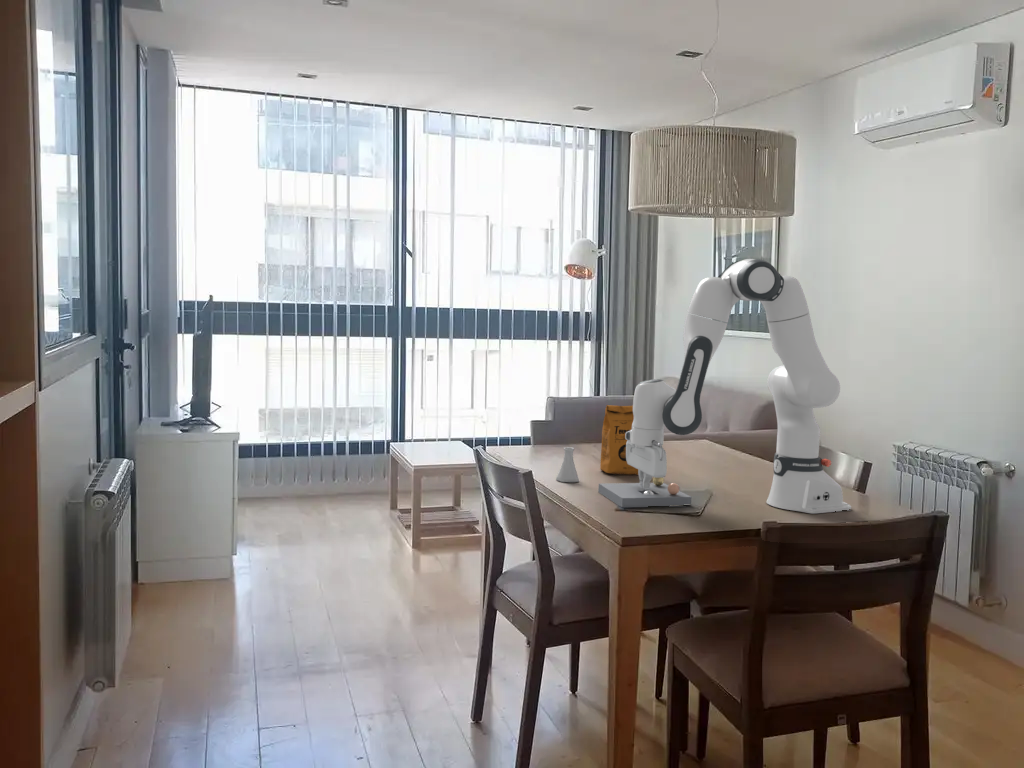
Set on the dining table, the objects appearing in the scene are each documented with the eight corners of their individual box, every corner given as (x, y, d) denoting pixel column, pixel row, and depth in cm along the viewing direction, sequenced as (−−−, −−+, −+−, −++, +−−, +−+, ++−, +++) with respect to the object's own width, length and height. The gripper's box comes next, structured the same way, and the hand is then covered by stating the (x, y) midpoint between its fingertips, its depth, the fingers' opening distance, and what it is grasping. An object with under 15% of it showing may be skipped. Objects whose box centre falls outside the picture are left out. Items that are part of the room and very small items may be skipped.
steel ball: (651, 502, 228) (650, 491, 229) (657, 501, 225) (655, 489, 226) (641, 502, 227) (640, 491, 228) (646, 501, 224) (645, 489, 225)
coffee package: (643, 476, 262) (647, 407, 260) (604, 476, 260) (608, 406, 258) (634, 470, 272) (638, 403, 270) (597, 469, 270) (601, 402, 268)
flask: (559, 483, 247) (561, 450, 246) (552, 478, 254) (553, 446, 253) (582, 483, 249) (584, 450, 248) (574, 477, 256) (576, 445, 255)
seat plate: (662, 491, 242) (663, 482, 241) (690, 506, 224) (691, 496, 224) (598, 492, 237) (598, 483, 236) (621, 507, 219) (622, 498, 219)
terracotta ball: (675, 493, 228) (676, 481, 228) (681, 495, 225) (681, 484, 225) (665, 493, 227) (665, 481, 227) (670, 496, 224) (670, 484, 224)
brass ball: (660, 484, 239) (661, 473, 238) (665, 487, 236) (666, 475, 235) (650, 484, 238) (651, 473, 238) (655, 487, 235) (655, 476, 234)
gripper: (674, 444, 219) (671, 495, 221) (643, 432, 239) (640, 479, 240) (652, 444, 218) (649, 495, 219) (623, 432, 238) (620, 479, 239)
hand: (644, 487), depth 230 cm, fingers closed
